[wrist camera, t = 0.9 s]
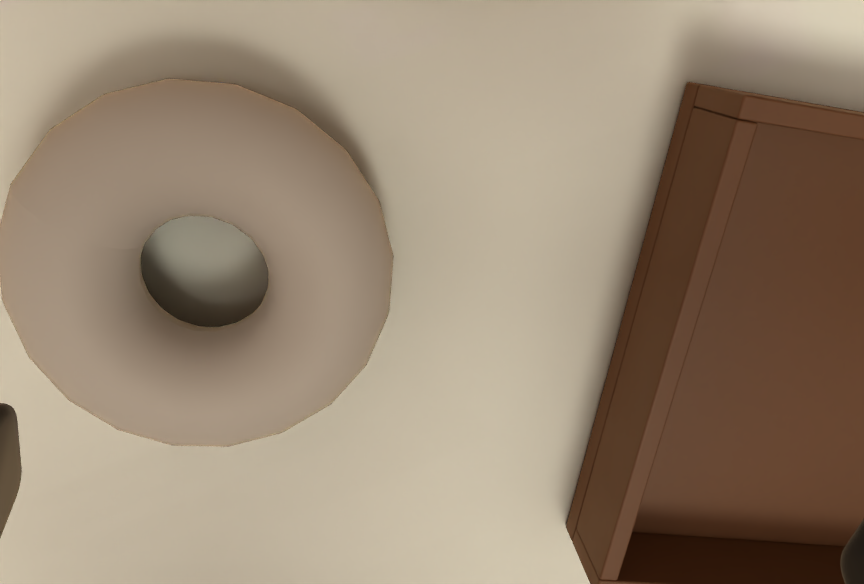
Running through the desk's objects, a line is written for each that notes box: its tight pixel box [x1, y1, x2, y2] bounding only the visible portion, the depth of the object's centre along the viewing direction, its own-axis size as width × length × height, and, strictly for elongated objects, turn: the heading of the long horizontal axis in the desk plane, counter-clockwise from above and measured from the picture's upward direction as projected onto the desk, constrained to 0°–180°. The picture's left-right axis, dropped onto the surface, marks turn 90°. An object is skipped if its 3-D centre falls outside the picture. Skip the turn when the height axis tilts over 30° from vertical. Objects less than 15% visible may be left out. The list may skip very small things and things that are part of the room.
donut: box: [0, 78, 393, 447], centre depth 20 cm, size 10×4×10 cm
